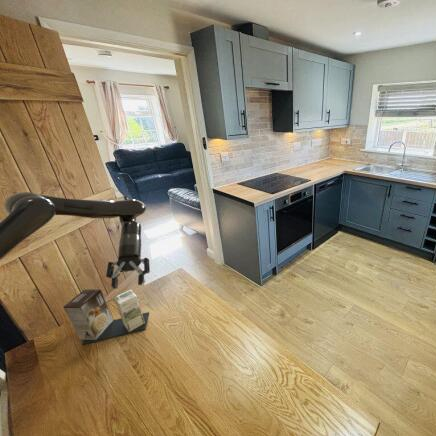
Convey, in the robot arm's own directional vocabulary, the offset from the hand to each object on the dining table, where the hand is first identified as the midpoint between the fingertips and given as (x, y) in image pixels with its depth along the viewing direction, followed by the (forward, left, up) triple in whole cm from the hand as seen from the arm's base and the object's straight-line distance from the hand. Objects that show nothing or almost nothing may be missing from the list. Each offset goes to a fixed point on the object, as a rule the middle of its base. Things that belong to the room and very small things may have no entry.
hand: (127, 286), depth 92 cm
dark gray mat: (-6, -4, -15) cm, 17 cm away
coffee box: (-13, -3, -15) cm, 20 cm away
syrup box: (0, -5, -15) cm, 16 cm away
